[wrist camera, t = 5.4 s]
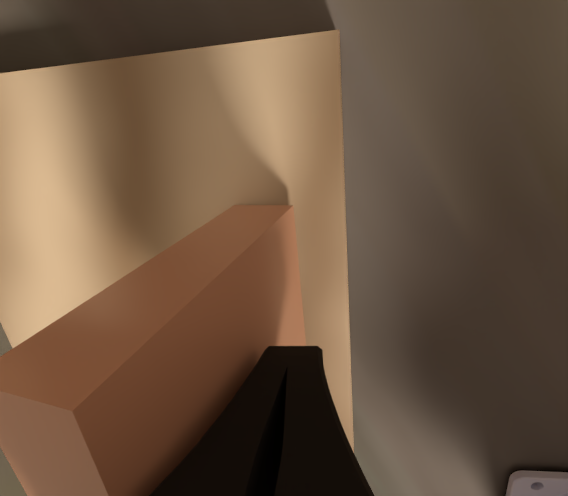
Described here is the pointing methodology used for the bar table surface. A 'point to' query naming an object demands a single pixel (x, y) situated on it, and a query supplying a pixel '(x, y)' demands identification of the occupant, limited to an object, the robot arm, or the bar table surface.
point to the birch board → (173, 174)
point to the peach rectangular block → (151, 359)
